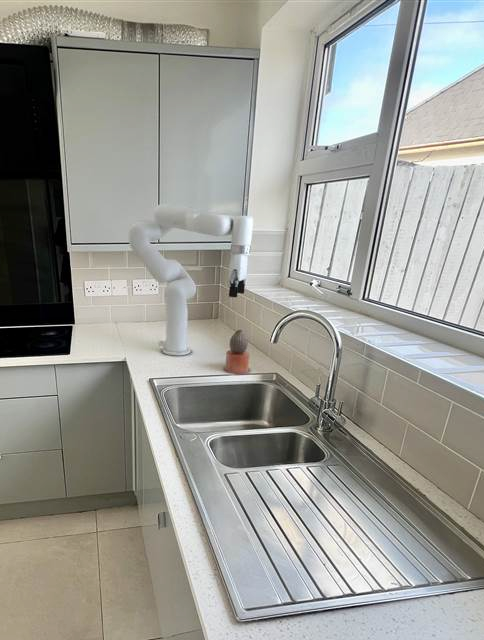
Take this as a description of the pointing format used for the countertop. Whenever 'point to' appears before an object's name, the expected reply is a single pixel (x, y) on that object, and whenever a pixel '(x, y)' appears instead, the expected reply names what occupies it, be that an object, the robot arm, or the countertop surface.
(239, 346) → the vase
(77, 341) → the countertop surface
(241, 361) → the upturned mug
